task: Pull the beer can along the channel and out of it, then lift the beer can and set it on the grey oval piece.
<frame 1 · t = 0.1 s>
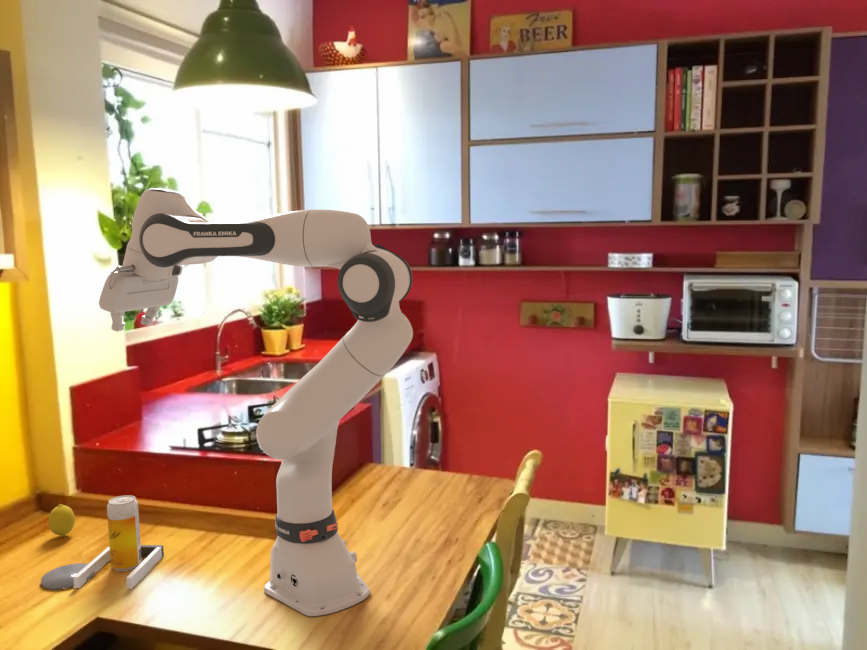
hand: (131, 327, 146), 52 cm above the table, tool tilted 20°, fingers open, 8 cm apart
lemon: (63, 537, 166), on the table
beer can: (126, 567, 151), resting in channel
grey oval piece: (68, 578, 146), on the table
channel: (120, 572, 148), on the table
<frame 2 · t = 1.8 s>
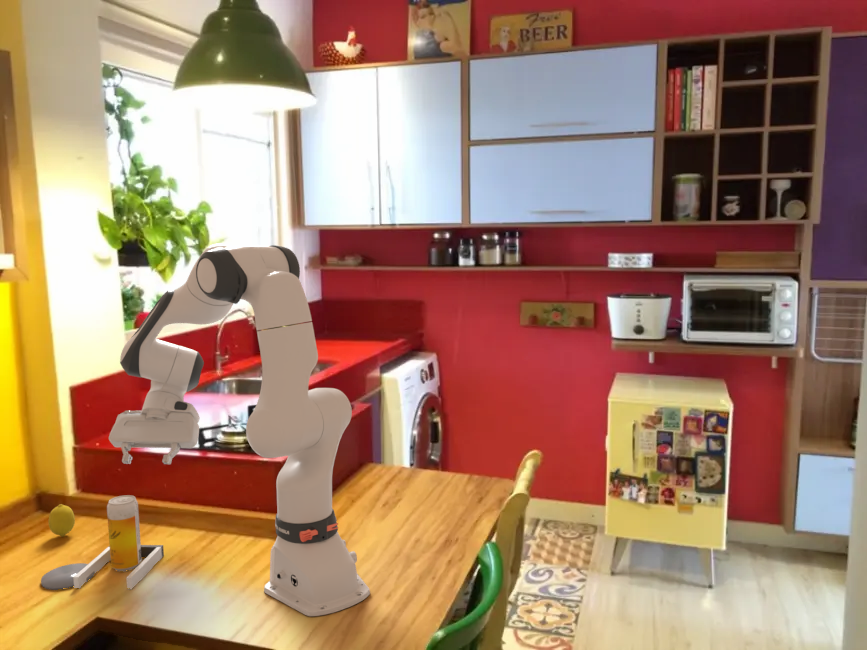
hand: (146, 463, 161), 19 cm above the table, tool tilted 45°, fingers open, 8 cm apart
nothing on the table moved.
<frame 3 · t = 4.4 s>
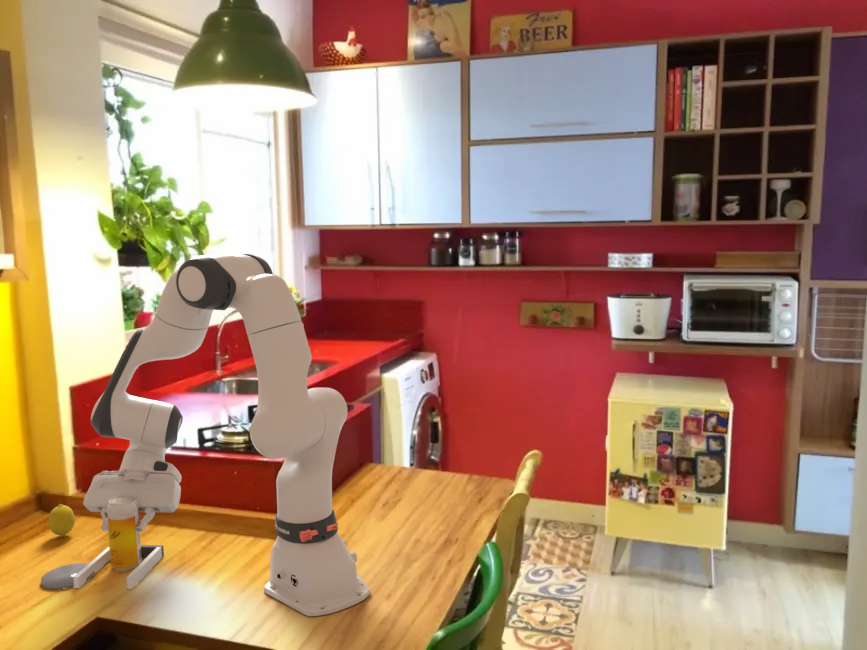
hand: (122, 530, 149), 8 cm above the table, tool tilted 45°, fingers closed on beer can, 6 cm apart
beer can: (126, 566, 151), resting in channel, touching gripper
everything else where it was.
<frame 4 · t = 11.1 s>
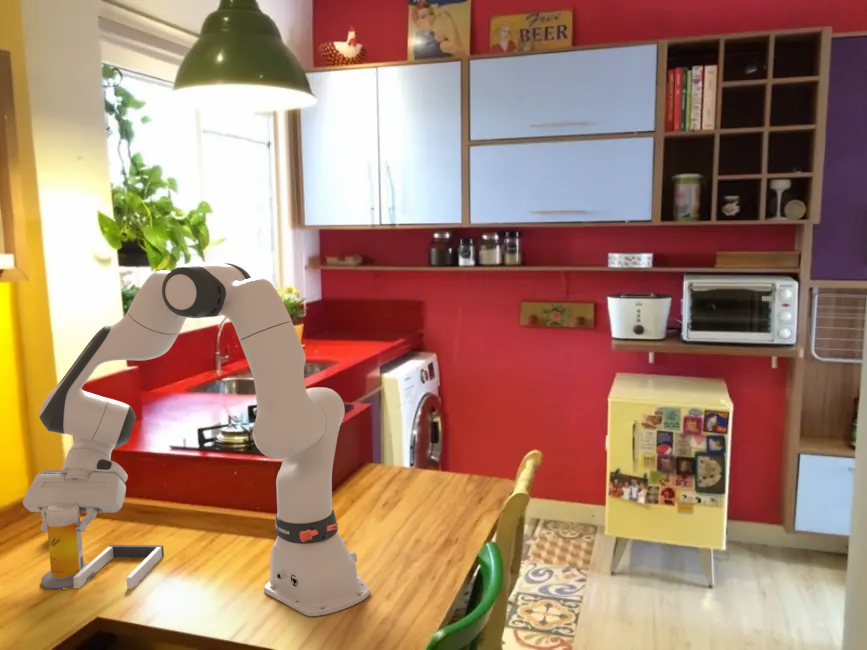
hand: (62, 530, 144), 11 cm above the table, tool tilted 45°, fingers closed on beer can, 6 cm apart
beer can: (68, 575, 146), point 1 cm above the table, touching grey oval piece, gripper
everything else where it was.
when the fingers open (11 cm above the table, at t = 11.5 s): beer can stays where it is, resting on grey oval piece.
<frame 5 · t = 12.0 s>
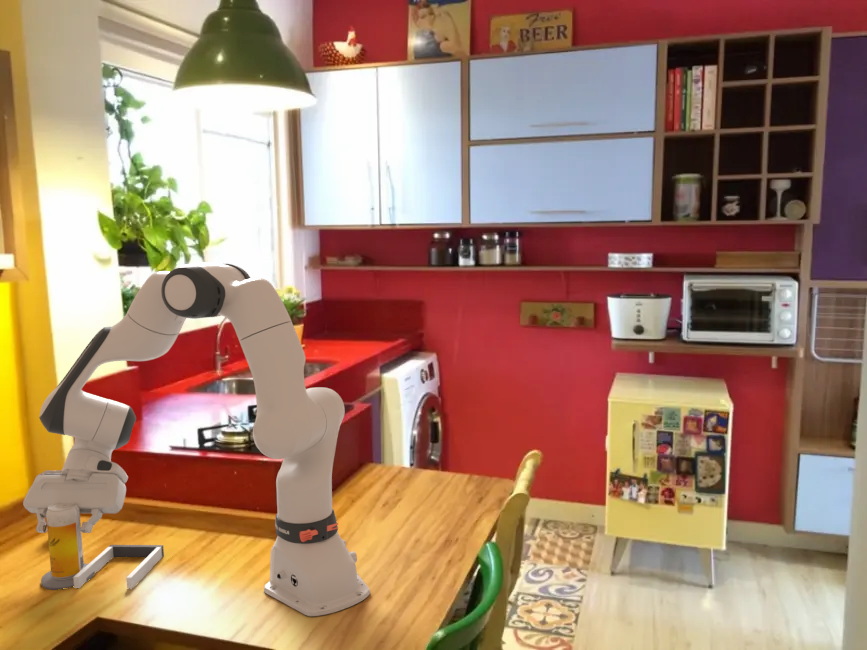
hand: (63, 531, 144), 10 cm above the table, tool tilted 45°, fingers open, 8 cm apart
beer can: (68, 575, 146), point 1 cm above the table, touching grey oval piece
everything else where it was.
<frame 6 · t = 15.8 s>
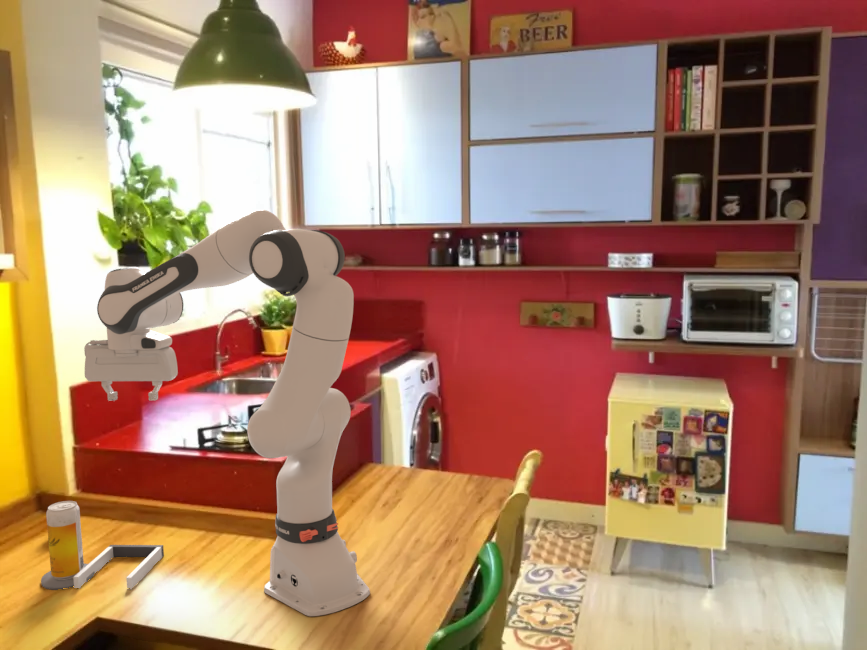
hand: (133, 400, 158), 34 cm above the table, tool pointing down, fingers open, 8 cm apart
nothing on the table moved.
at the end: beer can 0.1 cm from the grey oval piece (horizontally); beer can tilted 0°; the gripper is holding nothing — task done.
